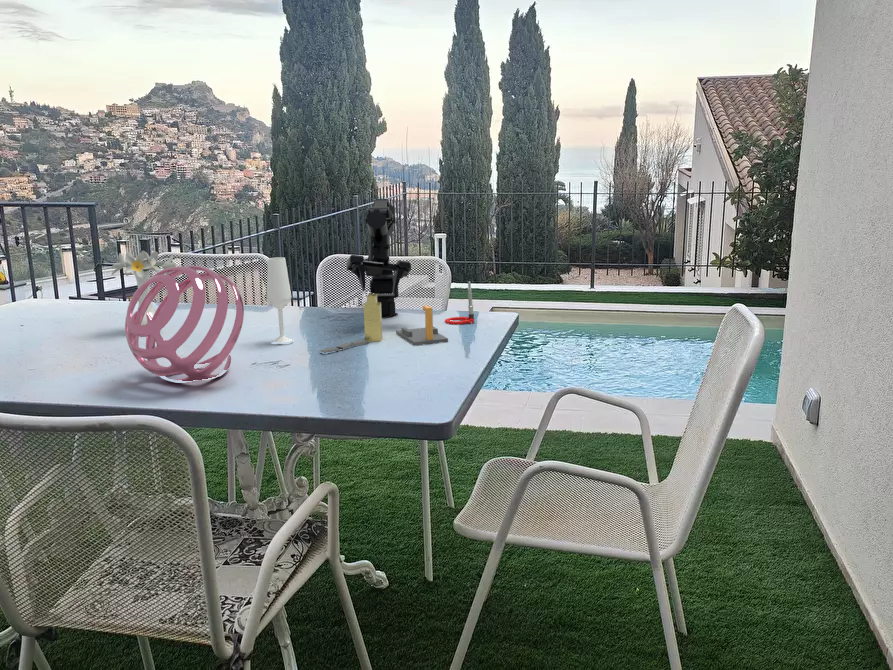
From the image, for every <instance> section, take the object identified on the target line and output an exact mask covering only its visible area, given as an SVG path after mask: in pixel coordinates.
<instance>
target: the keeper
mask: <svg viewBox="0 0 893 670" xmlns="http://www.w3.org/2000/svg"><path fill="white" fill-rule="evenodd" d="M422 311H423V312H424V318H425V319H424V322H425V323H424V324H425V327H419V328H409V329H408V328H407V327H401V328H400V330H395V333H396V335H397V336H399V337H400V336H401V337H400V338H401V339H403V338H404V339H403V340H405V339H406V340H407V341H406V340H405V341H406V342H408V341H409V342H410V343H409V342H408V343H409V344H411V343H412V344H413V346H414V345H417V346H422V345H423V344H426V345H432V343H435V344H440V343H439V342H443V343H448V342H449V338H448V337H446V336H444V335H442V333H441V334H440V333H439V329H438V328H437V327H435V326H433V325H434V320H433V318H434V317H433V307H431V306H428V305H423V306H422ZM412 344H411V345H412ZM423 346H424V345H423Z"/></svg>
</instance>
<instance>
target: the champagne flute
mask: <svg viewBox="0 0 893 670" xmlns="http://www.w3.org/2000/svg"><path fill="white" fill-rule="evenodd" d="M266 281H267V284H266V285H267V286H266V287H267V288H266V299H267V301H268V303H269V304H270V305H271V306H272V307H273V308H275V309H276V310H277V312H278V313H277V314H278V327H279V336H278V337H277V338H276V339H274V340H273V341H275V342H281V343H284V342H290V341H292V340H293V339H291V338H290V337H287V336H285V330H284V329H285V328H284V327H285V326H284V325H285V324H284V316H283V315H284V314H283V309H285V308H286V306H288V304H289V303H290V302H291V300H292V292H291V285H290V278H289V273H288V266H287V261H286V257H282V256H280V257H279V256H278V257H269V258H267V279H266Z"/></svg>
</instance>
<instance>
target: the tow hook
mask: <svg viewBox="0 0 893 670" xmlns="http://www.w3.org/2000/svg"><path fill="white" fill-rule="evenodd" d="M471 285H472V284H471V281H467V300H468V316H453V317H448V318H445V319H444V323H445V322H446V323H449V324H448V325H453V324H454V325H464V324H470V325H472V324H471V323H473V324H474V321H475V315H474V306H473V305H474V304H473V293H472V291H473V290H472V286H471ZM450 320H453V321H450ZM446 323H445V324H446Z"/></svg>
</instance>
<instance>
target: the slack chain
mask: <svg viewBox="0 0 893 670" xmlns="http://www.w3.org/2000/svg"><path fill="white" fill-rule="evenodd" d="M352 345H353V346H352ZM364 345H369V342H368V340H365V338H364V339H359V340H353V341H350V343H348V342H344V343H341V344H339V345H337V346H336V347H335V346H332V347H329V348H324V349H320V350H319V352H320V351H321V352H324V353H326V352H332V351H340V350H339V349H342V350H343V349H346V348H348V349H350V348H349V347H351V348H353V347H355V346H356V347H360V346H364ZM346 350H347V349H346ZM343 351H344V350H343Z"/></svg>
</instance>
